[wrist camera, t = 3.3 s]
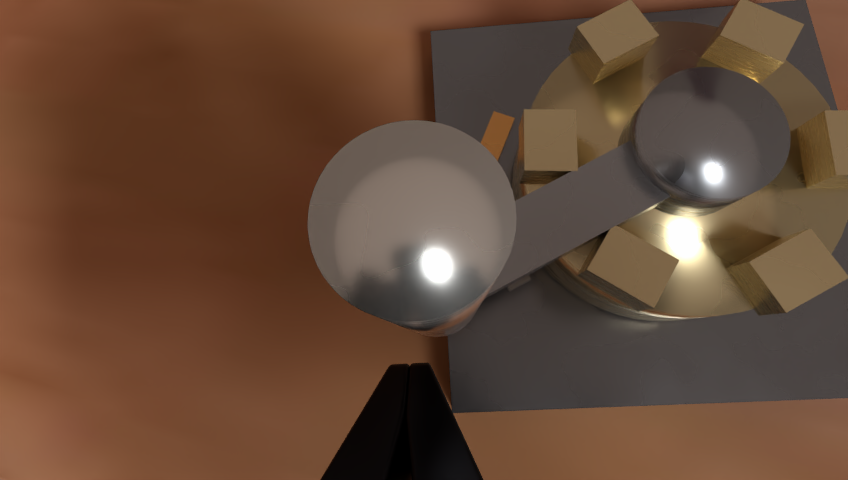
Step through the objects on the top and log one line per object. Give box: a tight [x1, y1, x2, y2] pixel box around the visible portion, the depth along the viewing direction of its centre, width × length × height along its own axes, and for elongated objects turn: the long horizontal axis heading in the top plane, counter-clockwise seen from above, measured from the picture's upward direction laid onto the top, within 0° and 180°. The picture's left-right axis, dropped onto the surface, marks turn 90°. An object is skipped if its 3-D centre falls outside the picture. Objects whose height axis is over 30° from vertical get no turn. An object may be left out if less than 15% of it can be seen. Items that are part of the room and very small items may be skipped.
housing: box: [431, 0, 848, 413], centre depth 16 cm, size 14×14×2 cm
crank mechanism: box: [308, 0, 848, 337], centre depth 10 cm, size 14×9×10 cm, turn 118°
